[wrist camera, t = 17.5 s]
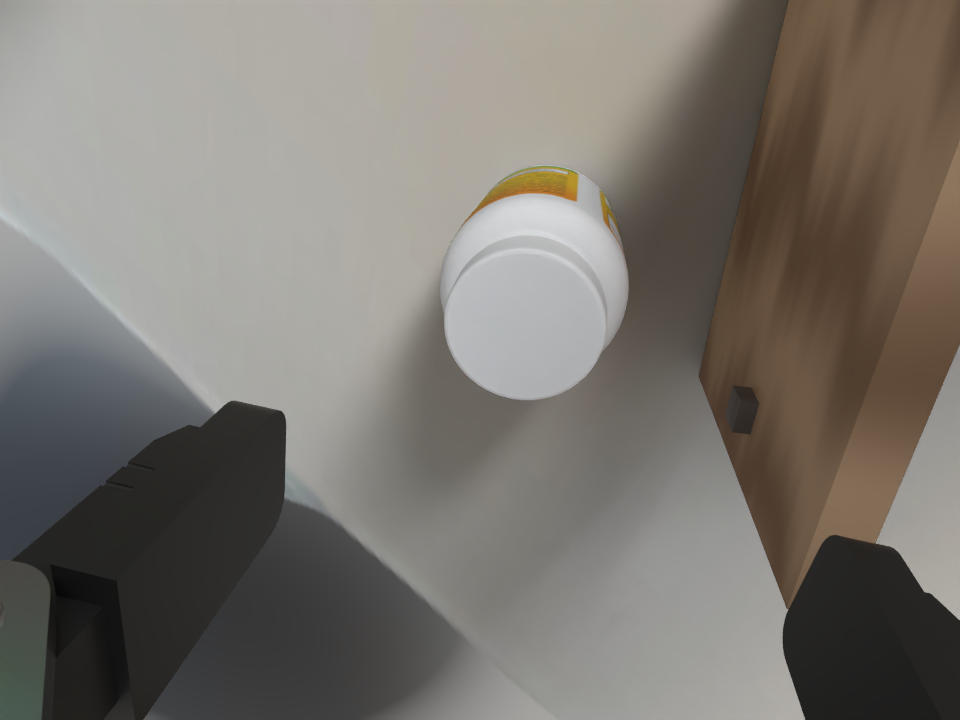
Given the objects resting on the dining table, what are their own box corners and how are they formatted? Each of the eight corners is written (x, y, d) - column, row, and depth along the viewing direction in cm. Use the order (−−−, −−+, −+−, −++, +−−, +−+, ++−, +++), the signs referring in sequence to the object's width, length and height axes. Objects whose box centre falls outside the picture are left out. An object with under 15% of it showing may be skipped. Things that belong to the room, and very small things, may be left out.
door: (808, -161, 18) (1170, -542, 7) (891, -159, 18) (1403, -547, 7) (685, 374, 25) (765, 612, 14) (743, 381, 25) (871, 629, 14)
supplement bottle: (448, 250, 25) (374, 346, 16) (530, 131, 23) (496, 168, 14) (558, 329, 25) (545, 463, 17) (648, 221, 23) (687, 310, 14)
